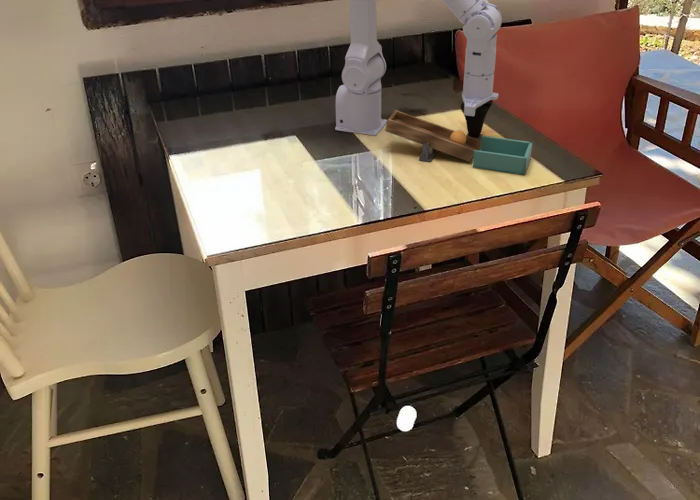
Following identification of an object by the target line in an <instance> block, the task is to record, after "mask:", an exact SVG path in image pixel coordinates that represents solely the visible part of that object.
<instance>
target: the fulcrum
mask: <svg viewBox="0 0 700 500" xmlns="http://www.w3.org/2000/svg"><path fill="white" fill-rule="evenodd" d="M438 152H439V150H436V149H433V148H430V147H429V144H428V143H423V145H422V153H420V156H419V157H418V161H421V162H424V163H425V162H427V163H431V162H432V161H433V159H434V158H435V156H436V154H437V153H438Z"/></svg>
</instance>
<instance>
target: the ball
mask: <svg viewBox="0 0 700 500" xmlns="http://www.w3.org/2000/svg"><path fill="white" fill-rule="evenodd" d="M453 131H454V132H453V133H452V134H451V136H450V141H452V142H455V143H458V144H461V145H464V144H465V142H466V135H467V134H466V133H465V132H464V131H462V130H460V129H459V130H453Z"/></svg>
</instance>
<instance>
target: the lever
mask: <svg viewBox="0 0 700 500" xmlns="http://www.w3.org/2000/svg"><path fill="white" fill-rule="evenodd" d="M384 131H385V132H386V133H390V134H391V135H395V136H398V137H401V138H402V139H403V138H404V139H406V140H408V141H412V142H413V143H414V142H415V143H416V144H420V145H422V146H423V143H428V144H429V147H430V148H433V149H436V150H438V152H442V153H444V154H447V155H449V156H451V157H452V156H453V157H455V158H458V159H460V160H463V161H466V162H468V163H470V162H471V161H472V159H473V158H474V150H478V148H479V145H480V144H481V138H482V135H483V134H482V133H481V134H480V136H479V138H476V137H470V136H469V135H468V133H467V134H465V135H466V142H465V144H464V145H461V144H458V143H455V142H452V141H450V136H451V134H452V133H453V132H454V131H455V130H453V129H450V128H447V127H445V126H442V125H439V124H436V123H434V122H431V121H427V120H425V119H422V118H420V117H416V116H414V115H411V114H408V113H405V112H403V111H399V110H397V109H395V110H394V111H393V112H392V114H391V115H390V116H389V118H388V119H387V123H386V124H385V130H384Z"/></svg>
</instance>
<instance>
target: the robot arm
mask: <svg viewBox="0 0 700 500" xmlns="http://www.w3.org/2000/svg"><path fill="white" fill-rule="evenodd" d="M348 2H349V31H350V32H349V33H350V34H349V35H350V45H349V47H348V49H347V51H346V55H345V57H344V60H345V62H344V63H345V64H344V66H343V69H342V72H341V81H342V83H343V84H341V85H339V87H338V89H337V91H336V94H335V124H336V125H335V128H334V130H335V131H338V132H339V131H340V132H346V133H353V134H361V135H368V136H374V137H375V136H378V134H379V132H380V131H381V130H382V129H383V128H384V126H386V125H387V121H388V119H385V118H382V82H381V79H382V77H384V75H385V73H386V70H387V63H386V60H385V58H384V55H383V51H382V50H383V47H382V45H381V44H380V43H379V41H378V33H377V32H378V31H377V30H378V29H377V28H378V27H377V26H378V25H377V23H378V22H377V19H378V18H377V0H348ZM441 2H443V4H444V5H446V7H447V8H448V9H449V11H450V12H451V13H452V14H453V15H454V17H455V18H456V19H457V20H458V21H459V22H460V23H461V24H462V25H463V26H462V32H463V35H464V38H466V47H465V58H464V72H463V73H464V75H463V88H462V91H461V98H462V102H461V104H460V110H461V112H462V114H463V116H464V118H465V122H466V123H465V124H466V128H467V134H468V135H469V136H470V137H476V138H479V136H480V134H482V130H483V127H484V123H485V121H486V120H485V119H486V117H487V114H488V112H489V110H490V108H491V107H492V105H493V101H496V100H497V99H498V98H499V93H498V92H493V90H494V80H495V79H494V78H495V68H496V67H495V66H496V57H497V41H498V40H497V38H498V34H497V32H498V31H499V29H500V28H501V26H502V22H503V18H502V13H501V11H500V10H499V8H498V6H497V5H495V4H493V3H490V1H488V0H441Z"/></svg>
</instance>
